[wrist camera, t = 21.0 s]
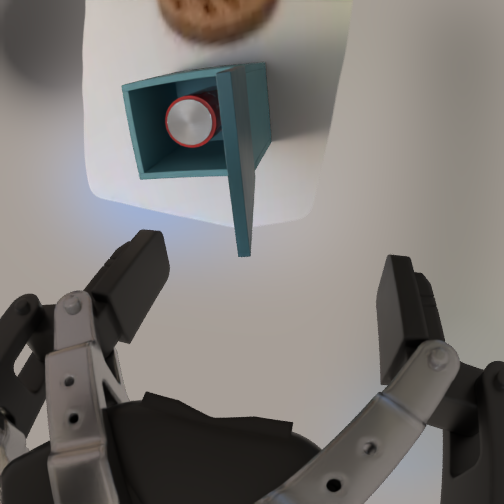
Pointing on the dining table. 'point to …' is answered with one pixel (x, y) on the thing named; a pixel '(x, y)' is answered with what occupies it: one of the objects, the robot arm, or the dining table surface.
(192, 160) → the teal open box
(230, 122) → the teal box lid
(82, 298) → the robot arm
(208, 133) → the can
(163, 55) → the dining table surface
